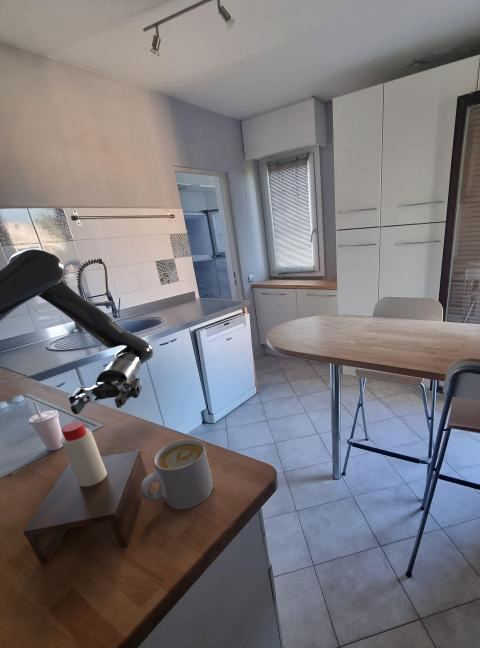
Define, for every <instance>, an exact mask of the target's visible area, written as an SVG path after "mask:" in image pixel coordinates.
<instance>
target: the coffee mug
mask: <svg viewBox="0 0 480 648" xmlns="http://www.w3.org/2000/svg"><path fill="white" fill-rule="evenodd" d="M153 465H154V467H155V471H153V472H151V473H149V474H147V477H146V478H144V480H143V481H142V484H141V490H142V494H143V498H144V499H146V500H147V501H148V502H151V503H153V502H158V501H165V503H166V505H167V506H168V507H170V508H172V509H174V510H188V509H192V508H194V507H197V506H198V505H200V504H202V503H203V502H204V501H206V500H207V499H208V498H209V497H210V495H211V494H212V492H213V490H214V481H213V477H212V472H211V468H210V463H209V459H208V456H207V451H206V447H205V444H204V443H203V441H201V440H198V439H195V438H182V439H178V440H175V441H172V442H170V443H167V444H166V445H164V446H163V447H161V448H160V449H159V450H158V451H157V452H156V454H155V456H154V458H153ZM156 482H158V483H159V488H158V489H157V491H155V492H151V491H150V487H151V486H152V485H153V484H154V483H156Z"/></svg>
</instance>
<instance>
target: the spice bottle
mask: <svg viewBox="0 0 480 648" xmlns="http://www.w3.org/2000/svg"><path fill="white" fill-rule="evenodd" d="M61 432H62V436H63V437H62V439H61V443H62V445H63V447H62V448H63V449H64V452H65V454H66V457H67V459H68V461H69V463H70V464H71V466H72V468H73V471H74V473H75V475H76V478H77V480H78V482H79V484H80V486H83V487H88V486H92V485H95V484H97V483H99V482H100V481H102V480H103V479H104V478H105V477H106V475H107V472H106V469H105V466H104V464H103V461H102V458H101V457H102V456H101V454H100V450H99V448H98V445H97V443H96V441H95V437H94V435H93V433H92V429H90V428H89V427H88V428H87V427H86V426H85V424H84V422H83V421H81V420H77V421H72V422H69V423H67V424H65V425H64V426H63V427H62V428H61Z"/></svg>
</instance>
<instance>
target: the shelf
mask: <svg viewBox="0 0 480 648" xmlns="http://www.w3.org/2000/svg"><path fill="white" fill-rule="evenodd" d="M101 458H102V461H103V464H104V466H105V469H106V472H107V475H106V477H105V478H104V479H103V480H102V481H100V482H99V483H97V484H95V485H92V486H88V487H83V486H80V484H79V482H78V480H77V478H76V475H75V473H74V471H73V468H72V466H71V464H70V462H68V464H67V465H66V467H65V468H64V470H63V472H62V473H61V475H60V476H59V477H58V479H57V480H56V482H55V483H54V485H53V487H52V488H51V489H50V491H49V492H48V494H47V496H46V497H45V499H44V500H43V501H42V503H41V504H40V506H39V507H38V509H37V510H36V512H35V513H34V515H33V516H32V518H31V519H30V520H29V522H28V524H27V525H26V527H25V528H24V530H23V531H22V532H23V534H24V537H25V539H26V540H27V542H28V544H29V546H30V548H31V549H32V551H33V554H34V555H35V556H36V558H37V560H38V561H39V564H40V565H41V566H44V565H48V564H50V562H51V561H52V559H53V557H54V554H55V553H56V551H57V550H58V547H59V545H60V543H61V541H62V540H63V538H64V536H65V534H66V532H67V530H68V529H73V528H78V527H82V526H87V525H93V524H97V523H102V522H107V521H108V522H109V524H110V526H111V529H112V532H113V534H114V536H115V539H116V541H117V543H118V546H119V549H123V548H124V549H125V548H128V545H129V542H130V539H131V536H132V533H133V531H134V527H135V523H136V520H137V518H138V517H137V516H138V513H139V510H140V507H141V503H142V500H143V498H144V495H143V494H142V490H141V484H142V481H143V480H144V478H146V477H147V476H148V473H147V470H146V467H145V464H144V461H143V458H142V455H141V452H140V450H133V451H127V452H121V453H114V454H109V455H108V454H107V455H104V456H101Z"/></svg>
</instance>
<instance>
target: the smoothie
mask: <svg viewBox="0 0 480 648" xmlns="http://www.w3.org/2000/svg"><path fill="white" fill-rule="evenodd" d="M32 404H33V406H34V408H35V411H36V412H37V413H35V414H34V415H32V416H31V417H29V419H28V425H30V426H31V427H32V428H33V430H34V431H35V432H36V434H37V436H39V438H40V439H41V441H42V443H43V444H44V445H45V447H46V448H47V450H48V451H49V450H51V451H50V452H52V451H53V450H54V451H57V450H59V449H61V448H63V447H62V446H63V445H62V443H61V439H62V437H63V436H64V435H63V433H62V428H61V424H60V419H59V416H60V414H59V413H58V410H56V409H48V410H47V409H46V410H44V411H40V408H39V406H38V404H37V401H33V402H32ZM54 451H53V452H54Z"/></svg>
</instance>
